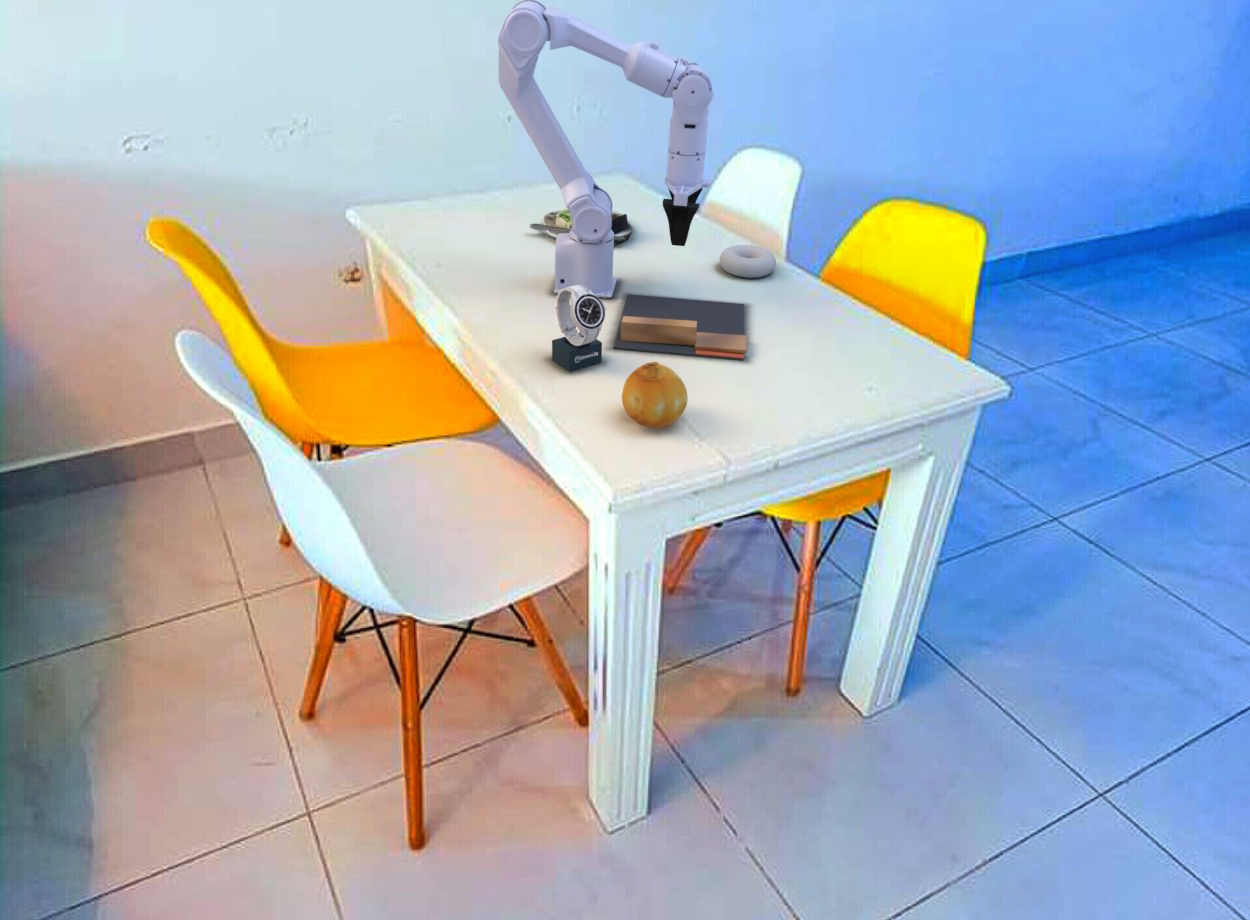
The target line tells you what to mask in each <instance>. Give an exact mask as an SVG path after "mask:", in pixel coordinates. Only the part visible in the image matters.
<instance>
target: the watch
mask: <svg viewBox="0 0 1250 920" xmlns="http://www.w3.org/2000/svg"><path fill="white" fill-rule="evenodd" d="M571 293H572V294H571ZM570 294H571V295H570ZM555 302H556V306H555V312H556V317H557V321H558V326H559V328H560V331H561V333H562V334H563V335H564V336H562V337H559V338H555V339H552V340H551V360H552V362H554V363H555V364H557V365H558V366H559V367H561V368H562V369H564V370H565V371H567V372H568V373H571V372H574V371H578V370H581V369H584V368H588V367H592V366H595V365H597V364H602V361H603V360H602V359H603V357H602V355H603V342H602V341H601V340H600V339H598V337H599V335H600V332H601V331H602V328H603V324H604V322H605V319H606V310H607V309H606V308H607V307H606V305H604V303H603V301H602V299H600V297H597V296H595V295H594V294H593V293H592V291H591V290H588V289H587V288H586V287H584V286H582V285H575V286H570V287H566V288H563V289H561V290H560V291H559V293H557V294H556V301H555ZM577 329H578V330H577Z"/></svg>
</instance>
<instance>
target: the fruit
mask: <svg viewBox="0 0 1250 920" xmlns="http://www.w3.org/2000/svg"><path fill="white" fill-rule="evenodd" d="M688 398H689V397H688V390H687V387H686V385H685V383H684V380H682V378H681V377H680V376H679V375H678V373H677V372H675V371H674V370H673V369H672V368H670V367H668V366H666V365H663V364H660V363H659V362H658V361H651V362H647V363H645V364H642V365H641V366H639V367H637V368H636V369H635V370H633V371H632V372H631V373H630V374H629V376H628V377H627V378H626V379H625V381H624V384H623V387H622V392H621V402H622V406H623V408H624V410H625V412H626V414H627V415H628V417H629V418H631V419H632V420H633V421H634V422H636V423H638V424H640V425H642V426H645V427H649V428H654V429H655V428H656V429H659V428H664V427H665V428H666V427H668V426H670V425H672V424H674V423H675V422H676V421H678V420H679V418H680V417H681V416H682V415H683V413H684V412H685V410H686V407H687V405H688Z"/></svg>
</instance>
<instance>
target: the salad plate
mask: <svg viewBox="0 0 1250 920" xmlns="http://www.w3.org/2000/svg"><path fill="white" fill-rule="evenodd" d="M611 220H612V226H611V230H612V231H613V232H614V245H619V244H622V243H625V242H627V241H628V240H629V239H630V237H631V235H632V234H633V227H632V225H631V224H630V223H629V222H630V221H629V220H628V215H627V213H621V212H619V211H617V210H612V212H611ZM529 228H530V229H532V230H535V231H539V232H541V233H543V234H545V235H547V236H548V237H550V238H553V239H555V240H557V236H558V234H560V233H570V229H571V228H572V225H571V216H570V213H569V211H568V209H567V208H566V209H563V210H554V211H550V212H548V213H546V214H545V215H544V216H543V217H542V224H541V223H530V224H529Z"/></svg>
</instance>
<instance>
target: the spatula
mask: <svg viewBox="0 0 1250 920" xmlns="http://www.w3.org/2000/svg"><path fill="white" fill-rule="evenodd" d="M621 318H622V317H621ZM696 330H697V321H688V320H674V319H660V318H645V317H631V316H623V318H622V322H621V340H622V341H636V342H650V343H664V344H678V345H692V346H695V350H704V351H718V352H732V353H744V354H747V350H748V349H747V347H748V342H747V341H748V338H747V337H748V336H747V335H745V334H744V335H732V334H717V333H703V332H696Z"/></svg>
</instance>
